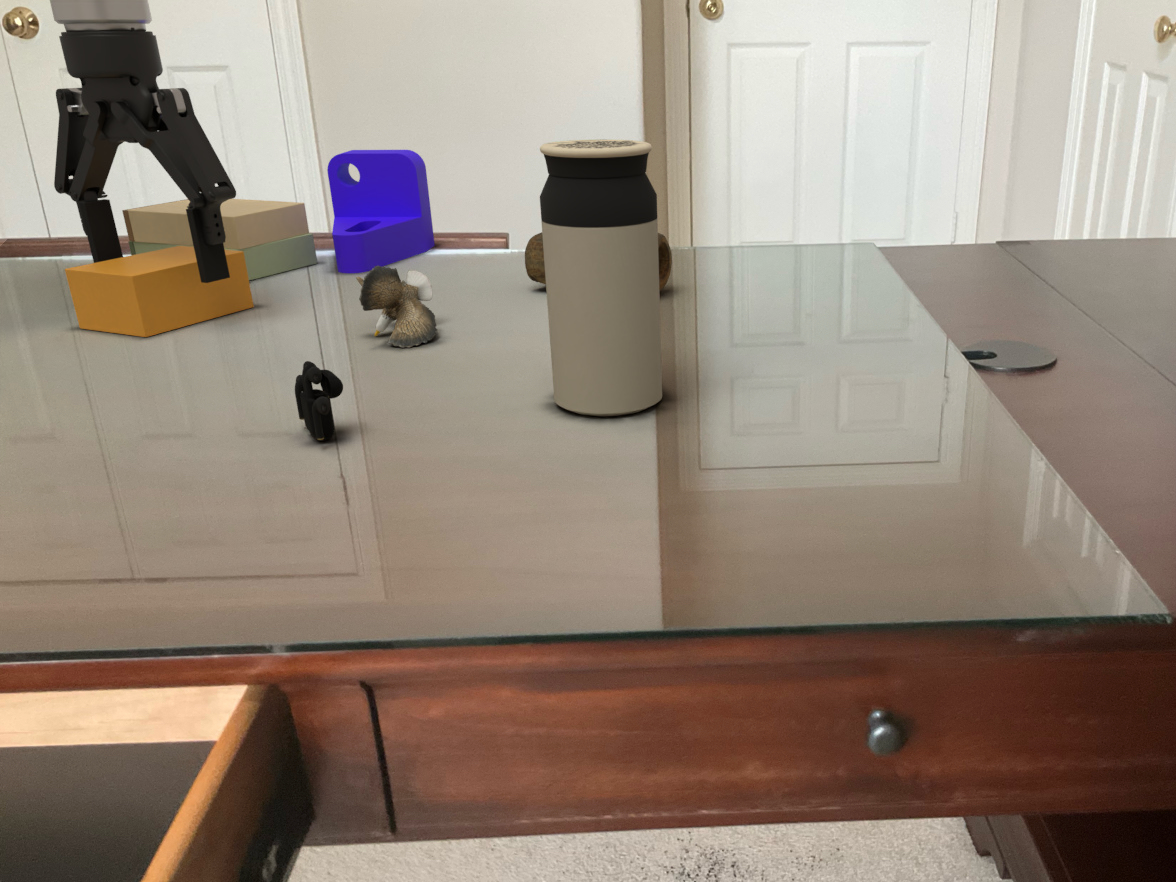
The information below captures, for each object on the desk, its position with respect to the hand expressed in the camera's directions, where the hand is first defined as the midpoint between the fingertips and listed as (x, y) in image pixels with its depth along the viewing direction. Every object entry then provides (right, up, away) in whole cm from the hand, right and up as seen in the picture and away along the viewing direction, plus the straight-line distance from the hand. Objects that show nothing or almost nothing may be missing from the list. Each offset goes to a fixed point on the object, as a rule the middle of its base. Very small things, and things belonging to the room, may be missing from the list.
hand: (162, 275), depth 103 cm
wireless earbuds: (+26, -18, -29) cm, 43 cm away
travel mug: (+45, -15, -23) cm, 52 cm away
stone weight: (+40, +1, +12) cm, 42 cm away
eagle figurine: (+24, -7, -5) cm, 25 cm away
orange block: (0, -4, +2) cm, 4 cm away
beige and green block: (-5, +7, +24) cm, 26 cm away
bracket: (+11, +9, +30) cm, 33 cm away
